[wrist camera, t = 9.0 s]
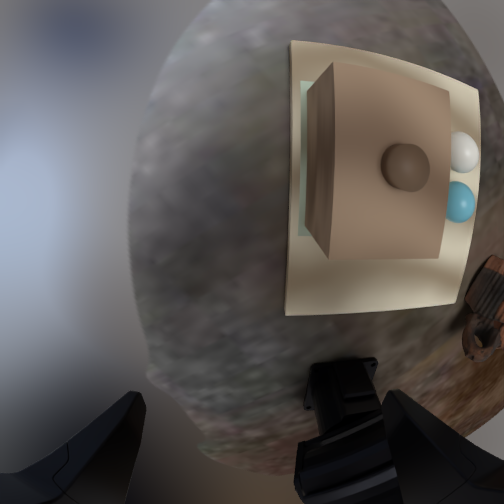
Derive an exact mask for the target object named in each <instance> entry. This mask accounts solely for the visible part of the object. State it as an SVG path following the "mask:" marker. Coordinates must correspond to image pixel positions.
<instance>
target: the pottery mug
mask: <svg viewBox="0 0 504 504" xmlns="http://www.w3.org/2000/svg"><path fill="white" fill-rule="evenodd" d="M503 274H504V260H503V259H500V258H498V257H496V256H494V255H492V256H491V257H490V258H489V259H488V261H487V262H486V264H485V265H484V267H483V268H482V270H481V272H480V273H479V274H478V275H477V277H476V279H475V280H474V282H473V283H472V285H471V287H470V289H469V291H468V292H467V295H466V297H465V301H466V302H467V303H468V304H469V305H470V307H471V309H472V310H473V312H474V313H472V314H467V315H466V317H465V320H466V327H465V329H464V331H463V335H462V346H463V349H464V352H465V356H466V357H468V358H469V359H471V360H473V361H474V362H482V361H485V360H486V359H487V358H488V357H490V356H491V355H492V354H493V352H494V351H495V349H499V348H502V349H503V350H504V276H503ZM474 334H475V336H477V337H478V338H479V340H480V341H481V342H482V345H483V347H479V346H478V345H477V344H476V342H475V338H474Z"/></svg>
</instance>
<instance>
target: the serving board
mask: <svg viewBox="0 0 504 504" xmlns="http://www.w3.org/2000/svg"><path fill="white" fill-rule="evenodd" d="M289 55H290V192H289V224H288V248H287V269H286V287H285V303H284V310H285V316H292V315H324V314H345V313H361V312H375V311H388V310H399V309H410V308H419V307H428V306H437V305H445V304H453V303H455V301H456V298H457V295H458V291H459V288H460V285H461V281H462V277H463V274H464V270H465V266H466V262H467V257H468V253H469V248H470V243H471V238H472V233H473V227H474V221H475V214H476V207H477V199H478V189H479V177H480V157H481V128H480V108H479V96H478V90H477V89H475V88H473V87H471V86H468V85H466V84H464V83H462V82H460V81H457V80H455V79H453V78H450V77H448V76H446V75H443V74H440V73H438V72H435V71H433V70H430V69H427V68H424V67H421V66H418V65H415V64H412V63H409V62H406V61H403V60H399V59H396V58H392V57H389V56H385V55H381V54H377V53H373V52H368V51H364V50H359V49H354V48H348V47H343V46H337V45H330V44H323V43H315V42H306V41H295V40H291V42H290V45H289ZM332 62H340V63H346V64H352V65H358V66H363V67H368V68H373V69H377V70H382V71H386V72H390V73H394V74H398V75H401V76H405V77H408V78H412V79H415V80H418V81H422V82H425V83H428V84H431V85H434V86H437V87H439V88H442V89H445V90H447V91H449V96H450V111H451V133H452V132H456V131H459V132H464V133H466V134H468V135H469V136H470V137H471V138H472V139H473V140H474V141H475V143H476V145H477V147H478V150H479V160H478V163H477V165H476V167H475V168H474V169H473V170H472V171H470V172H468V173H458V172H455V171H453V170H452V169H451V168H450V182H452V181H459V182H462V183H464V184H466V185H467V186H468V187H469V188H470V189H471V191H472V192H473V195H474V198H475V209H474V212H473V214H472V216H471V217H470V218H469V219H468V220H467V221H465V222H463V223H453V222H451V221H449V220H447V219H445V225H444V232H443V238H442V243H441V248H440V254H439V258H438V259H369V260H328V258H327V257H326V255H325V254H324V253H323V251H322V250H321V248H320V247H319V245H318V244H317V242H316V241H315V239H314V238H313V237H312V235H311V234H310V232H309V231H308V229H307V228H306V227H305V207H306V177H307V90H308V89H309V88H310V87H311V86H312V85H313V83H314V82H315V81H316V80H317V79H318V78H319V77H320V75H321V74H322V73H323V72H324V71H325V70H326V69H327V68H328V67H329V65H330V64H331V63H332Z"/></svg>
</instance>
